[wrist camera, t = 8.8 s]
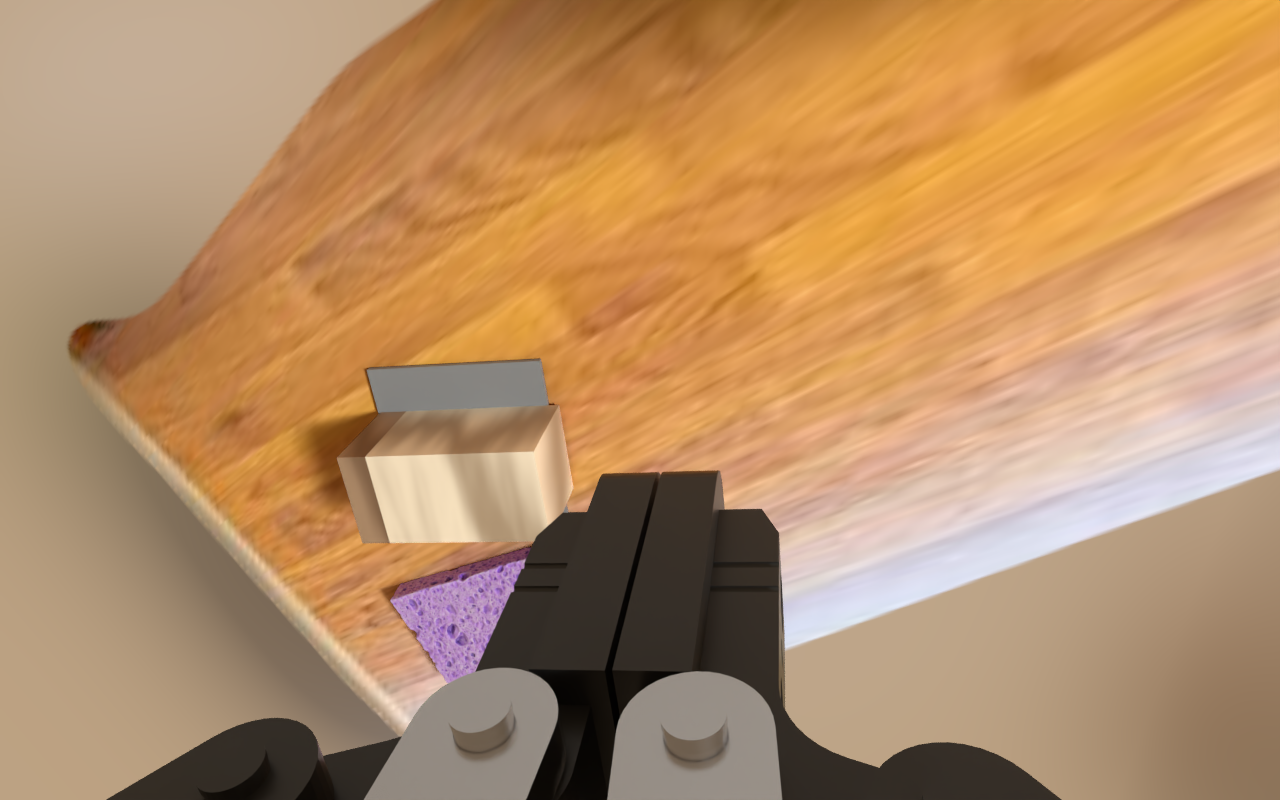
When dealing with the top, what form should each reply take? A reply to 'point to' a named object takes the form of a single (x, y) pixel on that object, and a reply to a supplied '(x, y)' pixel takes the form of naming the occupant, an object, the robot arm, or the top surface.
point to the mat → (459, 386)
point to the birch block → (458, 475)
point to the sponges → (459, 610)
